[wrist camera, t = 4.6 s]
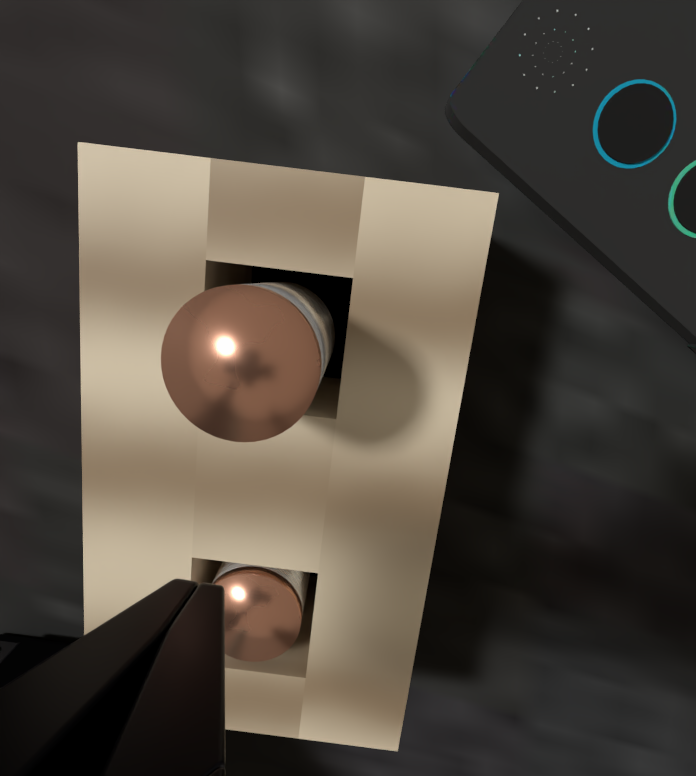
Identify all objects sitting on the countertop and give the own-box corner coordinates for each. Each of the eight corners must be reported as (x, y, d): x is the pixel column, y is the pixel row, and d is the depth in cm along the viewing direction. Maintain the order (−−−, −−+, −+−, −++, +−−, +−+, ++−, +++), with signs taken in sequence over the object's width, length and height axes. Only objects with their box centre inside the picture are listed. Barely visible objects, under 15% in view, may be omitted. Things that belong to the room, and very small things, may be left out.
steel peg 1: (329, 392, 17) (311, 451, 11) (227, 380, 17) (158, 432, 11) (341, 288, 16) (328, 295, 10) (233, 275, 16) (162, 275, 10)
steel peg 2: (312, 572, 23) (295, 667, 17) (238, 563, 23) (198, 654, 17) (320, 504, 22) (305, 581, 16) (243, 495, 22) (202, 568, 16)
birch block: (389, 634, 24) (397, 751, 18) (153, 604, 24) (85, 711, 18) (458, 218, 19) (498, 193, 13) (164, 182, 19) (77, 142, 13)
